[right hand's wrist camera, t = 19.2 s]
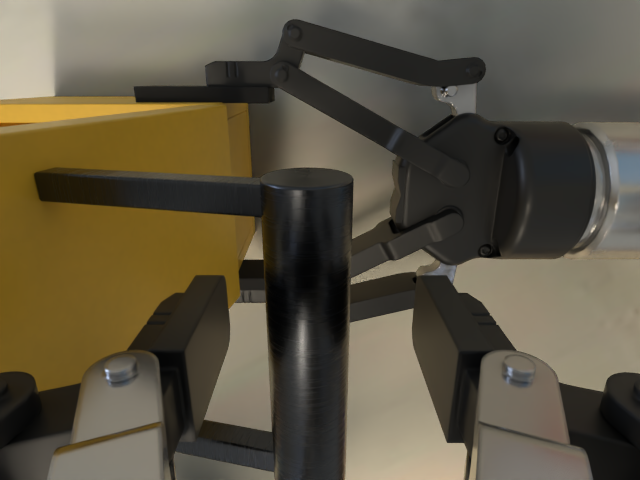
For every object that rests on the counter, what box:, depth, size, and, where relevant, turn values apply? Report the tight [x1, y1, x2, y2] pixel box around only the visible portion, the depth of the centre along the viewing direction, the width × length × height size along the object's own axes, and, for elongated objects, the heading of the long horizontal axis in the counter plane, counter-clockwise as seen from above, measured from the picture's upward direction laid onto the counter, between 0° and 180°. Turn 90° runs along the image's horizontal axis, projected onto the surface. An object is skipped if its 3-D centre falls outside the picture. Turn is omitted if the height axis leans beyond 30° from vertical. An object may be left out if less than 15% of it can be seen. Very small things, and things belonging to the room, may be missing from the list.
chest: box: [0, 96, 255, 271], centre depth 26 cm, size 13×10×9 cm
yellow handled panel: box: [0, 105, 353, 480], centre depth 14 cm, size 14×10×9 cm
